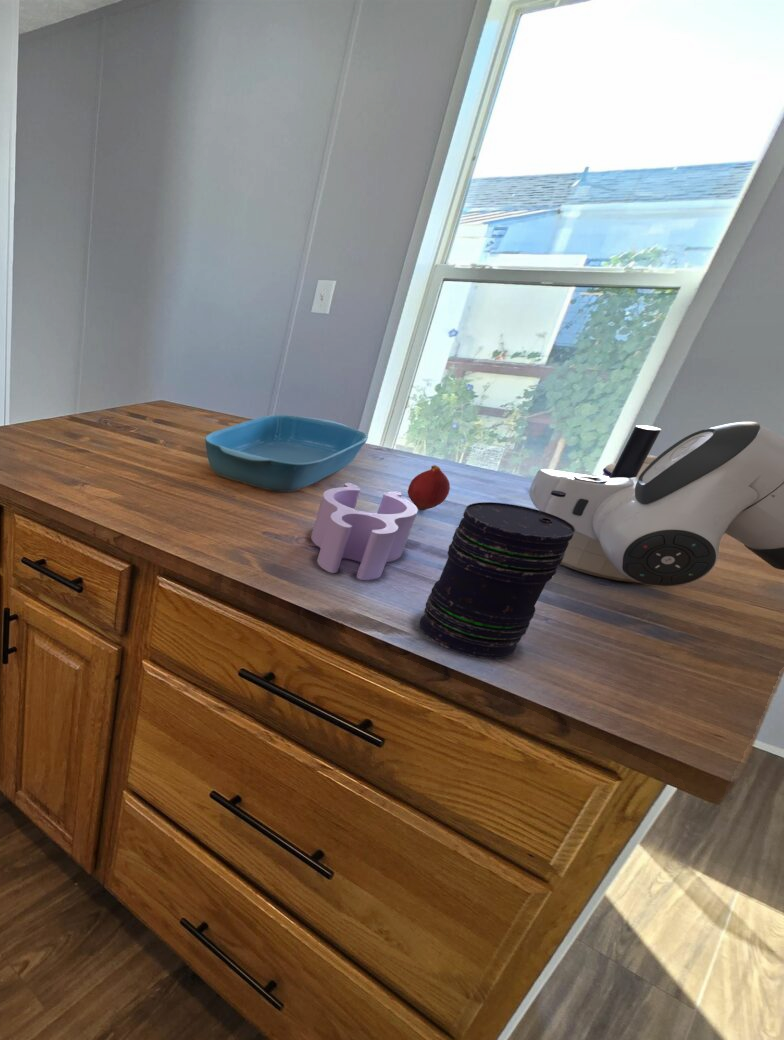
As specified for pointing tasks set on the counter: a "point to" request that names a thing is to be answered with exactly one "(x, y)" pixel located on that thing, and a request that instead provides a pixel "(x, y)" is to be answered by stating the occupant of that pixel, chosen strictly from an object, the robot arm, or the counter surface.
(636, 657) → the counter surface
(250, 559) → the counter surface
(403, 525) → the clip
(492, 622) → the oil drum
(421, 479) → the onion
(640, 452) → the black tall cylinder post
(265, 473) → the casserole dish
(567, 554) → the bowl
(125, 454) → the counter surface
